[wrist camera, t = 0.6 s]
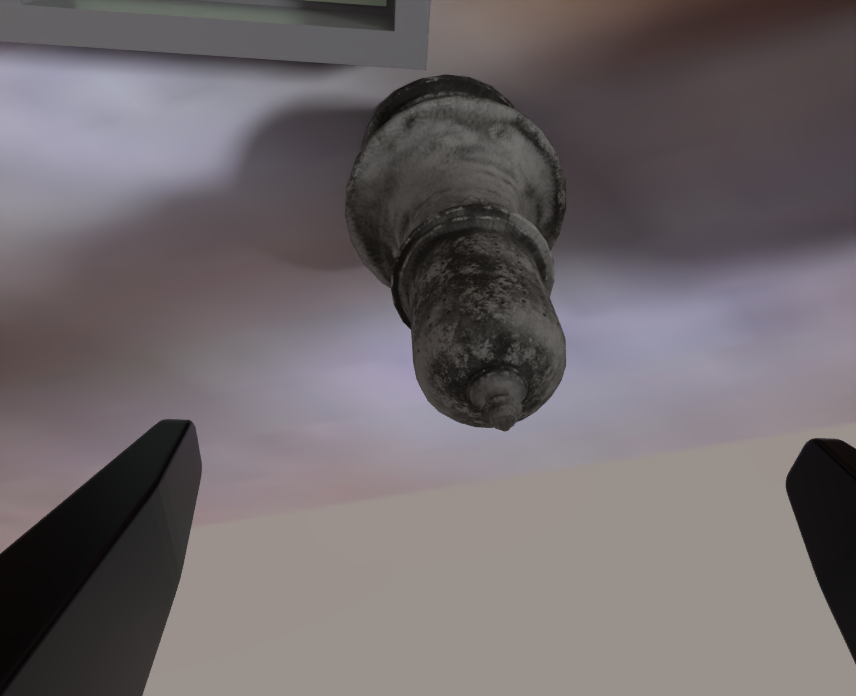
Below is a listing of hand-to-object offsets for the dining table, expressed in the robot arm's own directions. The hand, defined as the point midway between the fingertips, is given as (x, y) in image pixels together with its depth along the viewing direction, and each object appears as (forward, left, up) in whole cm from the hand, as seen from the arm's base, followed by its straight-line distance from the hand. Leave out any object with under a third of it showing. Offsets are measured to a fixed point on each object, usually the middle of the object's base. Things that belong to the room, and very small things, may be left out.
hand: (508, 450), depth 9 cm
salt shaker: (0, 0, -13) cm, 13 cm away
